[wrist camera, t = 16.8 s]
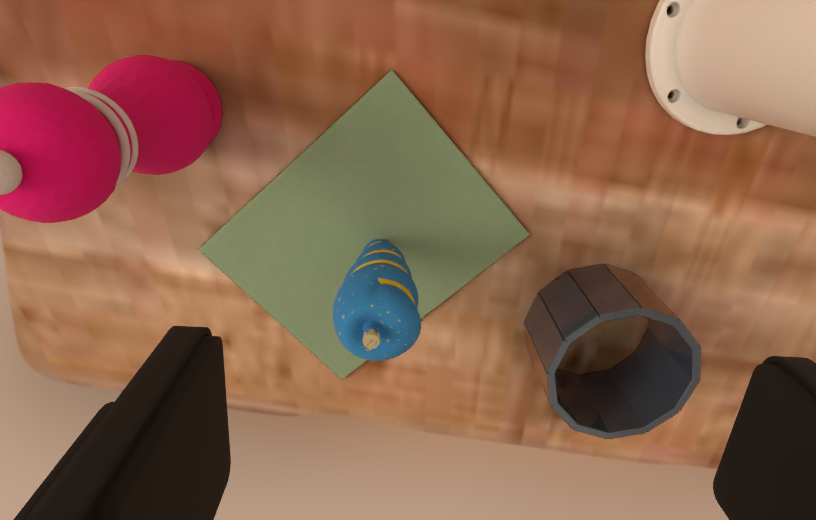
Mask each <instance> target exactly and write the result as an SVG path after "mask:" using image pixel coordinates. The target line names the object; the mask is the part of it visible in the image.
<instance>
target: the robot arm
mask: <svg viewBox="0 0 816 520" xmlns="http://www.w3.org/2000/svg"><path fill="white" fill-rule="evenodd" d="M668 6H669V7H670V9H671V10H670V13H669V14H667V7H668ZM645 62H646V70H647V77H648V80H649V83H650V86H651V89H652V92H653V94H654V95H655V97H656V99H657V100H658V102H659V104H660V105H661V107H662V108H663V109H664V110H665V111H666V112H667V113H668V114H669V115H670V116H671V117H672V118H674V119H675V120H677V121H678V122H680V123H681V124H683V125H685V126H687V127H690V128H692V129H695V130H697V131H701V132H705V133H709V134H717V135H733V134H741V133H746V132H749V131H752V130H755V129H758V128H761V127H764V126H766V125H771V126H775V127H779V128H783V129H787V130H791V131H795V132H799V133H803V134H806V135H810V136H814V137H816V0H659V2H658V5H657V7H656V9H655V12H654V14H653V17H652V19H651V22H650V26H649V30H648V34H647V39H646V52H645ZM670 91H671V96H670V98H668V94H669V93H670ZM738 119H739V121H738V122H737V120H738ZM230 463H231V461H230V444H229V431H228V416H227V401H226V387H225V373H224V359H223V345H222V340H221V338H220V337H217V336H212V334H211V331H210V329H209V328H208V327H188V326H173V327H172V328H171V329H170V330H169V331H168V332H167V334H166V335H165V336H164V338H163V339H162V340H161V342H160V343H159V344H158V345H157V347H156V348H155V349H154V351H153V352H152V353H151V355H150V356H149V357H148V359H147V360H146V361H145V363H144V364H143V365H142V367H141V368H140V369H139V371H138V372H137V373H136V374H135V376H134V377H133V378H132V380H131V381H130V382H129V384H128V385H127V386H126V388H125V389H124V390H123V392H122V393H121V394H120V396H119V397H118V398H117V400H116V401H115V402H110V403H107V404H105V405H104V406H103V407H102V408H101V409H100V410H99V411H98V412H97V414H96V415H95V416H94V418H93V419H92V420H91V422H90V423H89V424H88V425H87V427H86V428H85V429H84V430H83V432H82V433H81V434H80V435H79V437H78V438H77V439H76V441H75V442H74V443H73V444H72V446H71V447H70V448H69V449H68V451H67V452H66V454H65V455H64V456H63V457H62V458H61V460H60V461H59V462H58V464H57V465H56V466H55V467H54V469H53V470H52V471H51V472H50V474H49V475H48V476H47V478H46V479H45V480H44V481H43V483H42V484H41V485H40V487H39V488H38V489H37V490H36V492H35V493H34V494H33V495H32V497H31V498H30V499H29V501H28V502H27V503H26V504H25V506H24V507H23V508H22V510H21V511H20V512H19V513H18V515H17V516H16V517H15V518H14V520H213V519H214V517H215V514H216V511H217V509H218V506H219V503H220V501H221V498H222V495H223V493H224V490H225V487H226V485H227V482H228V478H229V473H230ZM713 490H714V495H715V498H716V500H717V502H718V503H719V505H720V507H721V508H722V509H723V511H724V512H725V514H726V515H727V517H728V518H729V520H816V363H814V362H813V361H811V360H810V359H808V358H800V357H781V356H772V357H769V358H767V359H766V360H765V361H764V362H763V364H760V365H758V366H757V367H756V368H755V370H754V371H753V374H752V377H751V379H750V382H749V385H748V388H747V390H746V393H745V396H744V399H743V401H742V404H741V407H740V409H739V412H738V415H737V418H736V420H735V423H734V426H733V429H732V431H731V434H730V437H729V439H728V442H727V445H726V448H725V450H724V453H723V456H722V459H721V461H720V464H719V467H718V470H717V472H716V475H715V478H714V482H713Z"/></svg>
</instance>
